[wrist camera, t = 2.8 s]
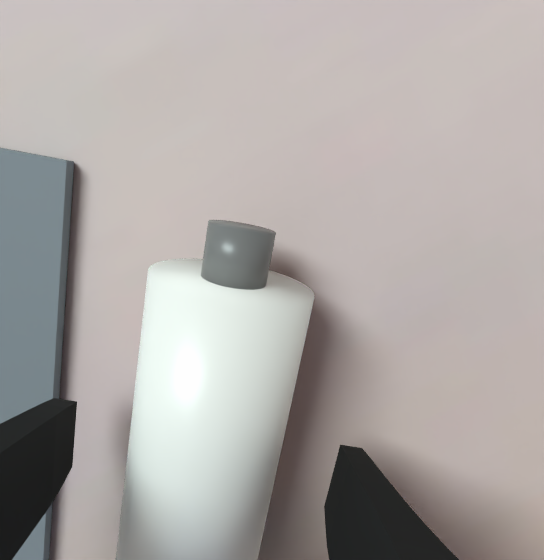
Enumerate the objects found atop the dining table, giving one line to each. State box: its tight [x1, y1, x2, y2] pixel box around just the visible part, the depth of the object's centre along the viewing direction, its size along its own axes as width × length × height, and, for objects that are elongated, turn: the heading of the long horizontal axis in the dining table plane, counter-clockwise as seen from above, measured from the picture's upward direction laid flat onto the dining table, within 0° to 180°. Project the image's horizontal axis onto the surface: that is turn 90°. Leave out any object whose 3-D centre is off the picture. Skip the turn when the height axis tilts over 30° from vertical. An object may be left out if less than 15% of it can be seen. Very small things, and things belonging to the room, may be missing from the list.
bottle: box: [116, 220, 315, 560], centre depth 11 cm, size 4×12×4 cm, turn 170°
